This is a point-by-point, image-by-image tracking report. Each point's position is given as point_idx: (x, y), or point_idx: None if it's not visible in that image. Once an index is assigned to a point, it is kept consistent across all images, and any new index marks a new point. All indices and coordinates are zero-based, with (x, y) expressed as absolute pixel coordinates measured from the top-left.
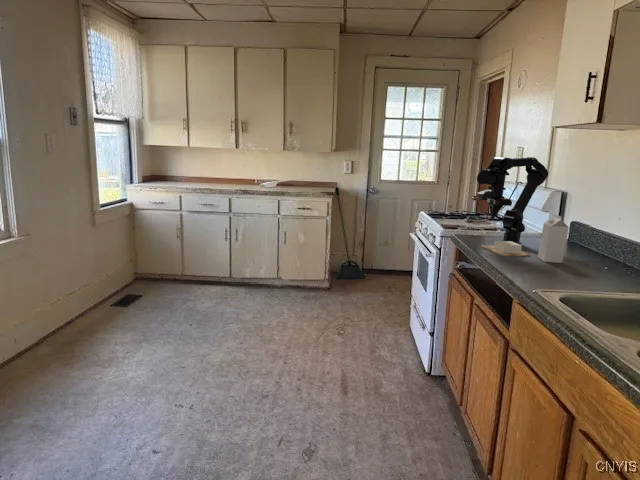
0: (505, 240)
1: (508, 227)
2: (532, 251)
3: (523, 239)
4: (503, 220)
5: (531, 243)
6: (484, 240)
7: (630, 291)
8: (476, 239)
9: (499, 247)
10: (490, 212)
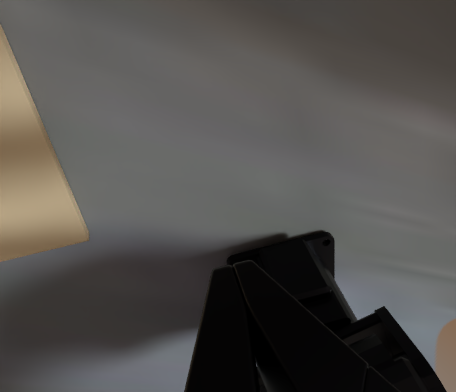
0: (272, 251)
1: (387, 349)
2: (17, 349)
3: None
4: (387, 376)
5: None
6: (338, 85)
7: None
8: (377, 6)
9: None
10: (315, 334)
